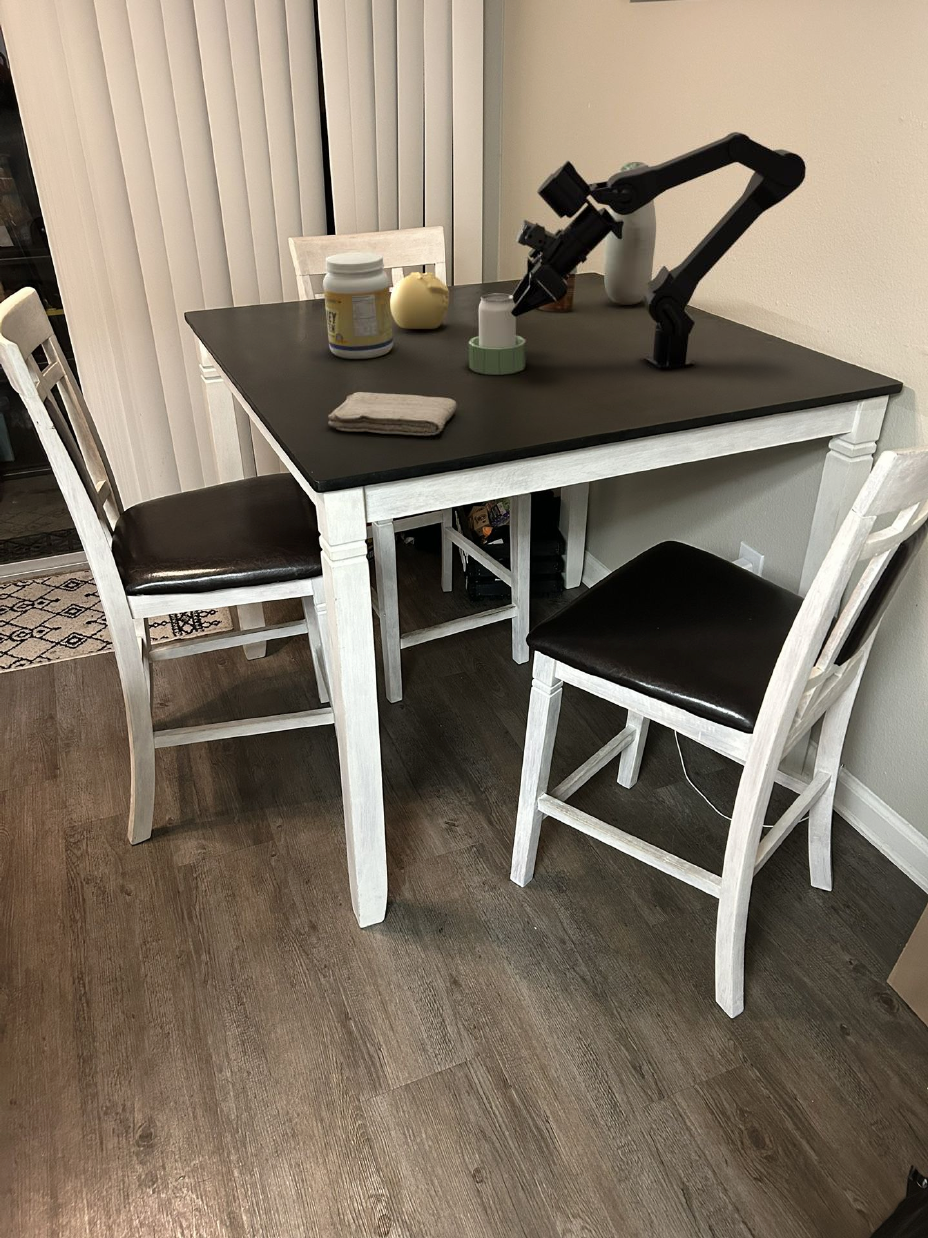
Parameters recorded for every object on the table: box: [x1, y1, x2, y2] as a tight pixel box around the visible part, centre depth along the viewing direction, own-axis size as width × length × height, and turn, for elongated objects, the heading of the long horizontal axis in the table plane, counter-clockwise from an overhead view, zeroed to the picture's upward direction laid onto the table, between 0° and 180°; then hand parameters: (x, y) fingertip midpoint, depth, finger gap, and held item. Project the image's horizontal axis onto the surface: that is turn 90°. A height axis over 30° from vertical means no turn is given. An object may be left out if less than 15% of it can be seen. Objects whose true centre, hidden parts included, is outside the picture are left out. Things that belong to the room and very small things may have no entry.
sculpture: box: [390, 271, 450, 330], centre depth 186 cm, size 12×12×11 cm
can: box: [478, 292, 517, 348], centre depth 161 cm, size 6×6×12 cm
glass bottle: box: [603, 161, 657, 306], centre depth 194 cm, size 10×10×28 cm
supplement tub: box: [322, 251, 394, 360], centre depth 170 cm, size 12×12×17 cm
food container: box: [538, 266, 578, 313], centre depth 197 cm, size 12×6×10 cm, turn 25°
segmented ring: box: [468, 335, 527, 376], centre depth 163 cm, size 10×10×4 cm
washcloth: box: [327, 391, 458, 436], centre depth 140 cm, size 12×18×3 cm, turn 77°
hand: (512, 307), depth 159 cm, fingers open, 9 cm apart
